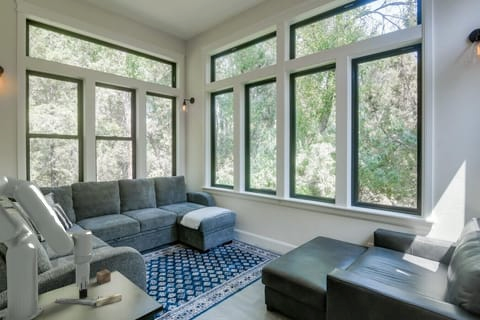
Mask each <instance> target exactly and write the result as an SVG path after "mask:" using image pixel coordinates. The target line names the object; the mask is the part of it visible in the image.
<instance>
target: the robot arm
mask: <svg viewBox="0 0 480 320" xmlns="http://www.w3.org/2000/svg"><path fill="white" fill-rule="evenodd" d="M0 197H4V198H9V199H10V198H11V199H14V200H15V201H16V202H17V204H18V205H19V206H20V208H21V209H22V211H23V212H24V213H25V215H27V217H28V218H29V220H30V221H31V223H32V224H33V225H34V227H35V228H36V230H37V231H38V233H39V234H40V235H41V237H42V238H43V240H44V242H45V243H46V244H47V245H48V247H50V249H51V251H53V253H55V254H56V255H59V256H62V255H67V254H69V253H70V252H71V251H72V252H73V253H72V254H73V255H72V256H73V261H72V263H73V264H74V265H75V286H76V287H77V288H78V287H79V290H78V299H87V298H88V285H89V284H90V270H91V269H90V267H91V266H90V262H92V261H93V232H92V230H90V229H81V230H78V231H66V229H65V228H64V226H63V225H62V222H61V221H60V220H59V217H58V214H57V213H56V210H55V209H54V207H53V206H52V205H51V204H50V202H49V201H48V199H47V198H46V196H45V195H44V194H43V192H42V191H41V189H40V186H39V185H38V184H37V183H36V182H33V181H29V180H25V179H21V178H17V177H13V176H8V175H3V174H0ZM0 243H3V244H4V245H5V246H6V248H7V250H6V255H5V261H6V263H5V264H6V279H7V281H6V282H7V284H6V285H7V287H6V288H7V289H6V291H7V308H6V307H5V308H4V309H1V310H0V319H1V318H2V320H33V319H36V318H37V317H39V315H41V314H42V312H43V310H44V308H43V305H41V304H39V278H38V277H39V275H38V251H39V249H38V247H39V246H38V245H39V241H38V239H37V237H36V235H35V234H34V233H33V232H32V231H31V229H30V228H29V226H27V225H26V223H25V222H24V221H23V220H22V219H21V218H20V217H19V216H17V215H14V214H12V213H11V214H10V213H9V212H8V210H7V209H6V208H5V207H4V206H3V204H2V203H1V202H0Z"/></svg>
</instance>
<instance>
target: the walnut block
mask: <svg viewBox="0 0 480 320" xmlns="http://www.w3.org/2000/svg"><path fill="white" fill-rule="evenodd" d="M111 274H112V273H111V271H109V270H108V269H103V270H101V271H96V276H95V277H96V283H97V284H99V285H100V286H101V285H104V284H107V283H110V282H111Z"/></svg>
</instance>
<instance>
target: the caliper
mask: <svg viewBox="0 0 480 320" xmlns="http://www.w3.org/2000/svg"><path fill="white" fill-rule="evenodd" d="M101 298H103V296H96V297H95V298H93V299H91V298H82V299H79V298H61V297H60V298H55V302H57V303H63V304H64V303H67V304H82V305H90V307H92V306H93V307H94V306H97V299H101Z"/></svg>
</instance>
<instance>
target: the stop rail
mask: <svg viewBox="0 0 480 320" xmlns="http://www.w3.org/2000/svg"><path fill="white" fill-rule="evenodd" d="M122 299H123V297H122V293H121V292H120V293H117V294H112V295H110V296H104V297H102V298H101V299H97V305H96V307H101V306H104V305H108V304H112V303H116V302H120V301H122Z"/></svg>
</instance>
